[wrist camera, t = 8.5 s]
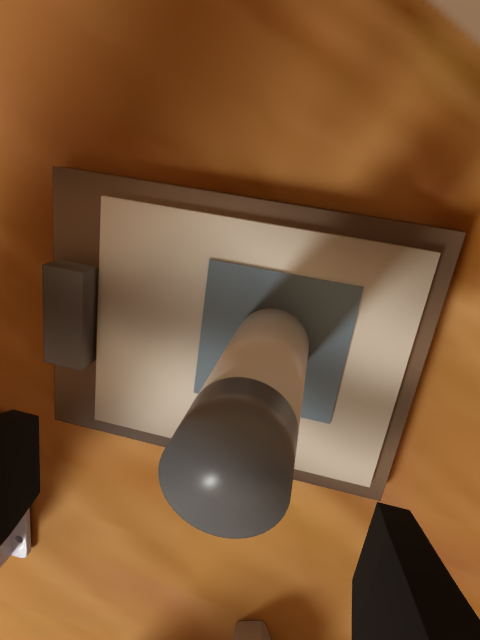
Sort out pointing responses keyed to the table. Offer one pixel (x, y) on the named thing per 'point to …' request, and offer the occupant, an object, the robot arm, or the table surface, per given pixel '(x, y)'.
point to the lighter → (251, 631)
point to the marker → (241, 432)
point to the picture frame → (239, 312)
